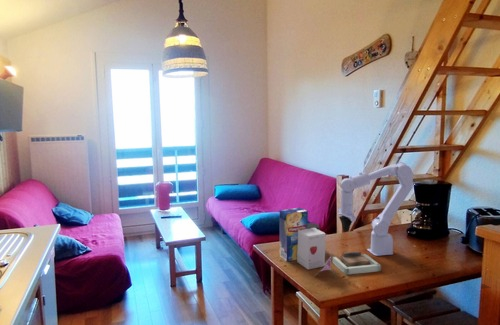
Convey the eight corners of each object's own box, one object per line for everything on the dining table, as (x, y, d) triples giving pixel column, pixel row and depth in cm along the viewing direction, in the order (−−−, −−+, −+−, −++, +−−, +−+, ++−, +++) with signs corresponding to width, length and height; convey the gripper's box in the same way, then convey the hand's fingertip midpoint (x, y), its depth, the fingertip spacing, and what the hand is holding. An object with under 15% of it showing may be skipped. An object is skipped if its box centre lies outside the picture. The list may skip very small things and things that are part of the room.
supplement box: (307, 270, 155) (308, 236, 153) (296, 262, 163) (297, 229, 161) (325, 266, 159) (326, 233, 157) (313, 258, 167) (314, 227, 165)
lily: (333, 270, 157) (322, 251, 157) (352, 269, 147) (340, 248, 147) (314, 286, 150) (303, 266, 151) (333, 287, 140) (321, 265, 141)
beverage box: (307, 257, 169) (308, 211, 165) (286, 261, 164) (287, 214, 161) (299, 252, 175) (299, 207, 172) (279, 256, 170) (279, 210, 167)
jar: (309, 253, 172) (309, 229, 171) (297, 248, 179) (298, 225, 177) (323, 249, 177) (323, 226, 176) (311, 244, 184) (311, 221, 182)
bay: (365, 259, 166) (365, 254, 165) (380, 270, 154) (380, 265, 153) (332, 262, 163) (332, 257, 162) (345, 274, 150) (345, 268, 150)
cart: (362, 262, 163) (363, 251, 162) (370, 269, 156) (371, 257, 155) (339, 265, 160) (339, 253, 160) (346, 271, 154) (346, 259, 153)
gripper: (332, 200, 179) (331, 227, 181) (345, 208, 165) (345, 237, 167) (345, 199, 181) (345, 226, 183) (360, 207, 167) (359, 235, 169)
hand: (345, 231), depth 175 cm, fingers closed
